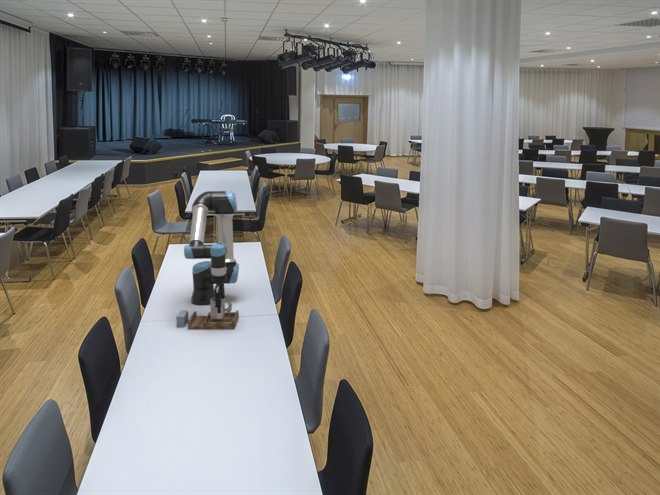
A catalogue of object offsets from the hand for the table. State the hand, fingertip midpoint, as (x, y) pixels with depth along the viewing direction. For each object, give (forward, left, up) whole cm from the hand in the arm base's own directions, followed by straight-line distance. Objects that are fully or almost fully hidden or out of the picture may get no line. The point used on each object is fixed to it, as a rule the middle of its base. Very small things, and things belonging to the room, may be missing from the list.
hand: (221, 315), depth 290 cm
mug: (0, 0, -1) cm, 1 cm away
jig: (-3, -3, -5) cm, 6 cm away
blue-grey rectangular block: (-16, -13, -5) cm, 21 cm away
